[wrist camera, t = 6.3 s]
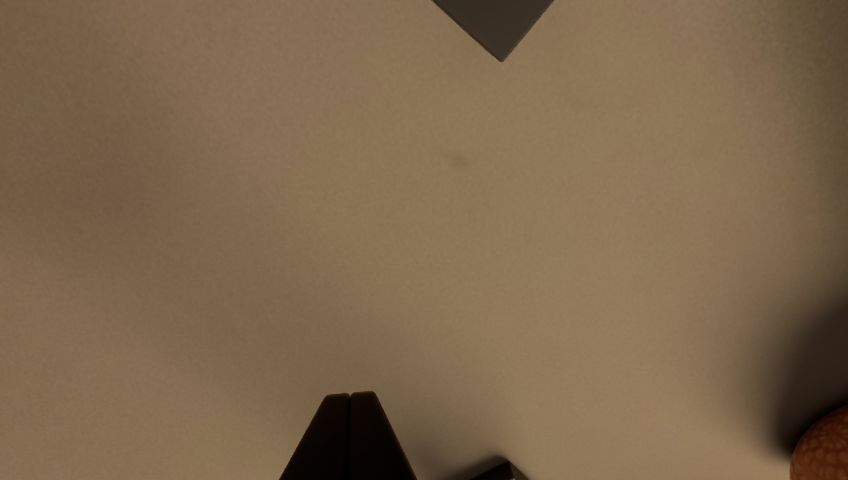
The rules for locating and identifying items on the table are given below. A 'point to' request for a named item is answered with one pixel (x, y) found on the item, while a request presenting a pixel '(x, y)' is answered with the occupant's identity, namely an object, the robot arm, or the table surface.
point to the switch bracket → (502, 473)
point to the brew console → (495, 21)
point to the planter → (823, 449)
